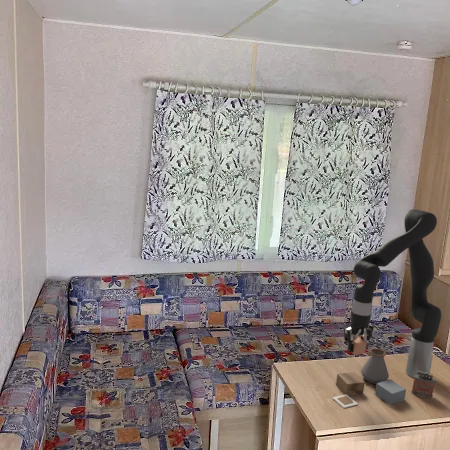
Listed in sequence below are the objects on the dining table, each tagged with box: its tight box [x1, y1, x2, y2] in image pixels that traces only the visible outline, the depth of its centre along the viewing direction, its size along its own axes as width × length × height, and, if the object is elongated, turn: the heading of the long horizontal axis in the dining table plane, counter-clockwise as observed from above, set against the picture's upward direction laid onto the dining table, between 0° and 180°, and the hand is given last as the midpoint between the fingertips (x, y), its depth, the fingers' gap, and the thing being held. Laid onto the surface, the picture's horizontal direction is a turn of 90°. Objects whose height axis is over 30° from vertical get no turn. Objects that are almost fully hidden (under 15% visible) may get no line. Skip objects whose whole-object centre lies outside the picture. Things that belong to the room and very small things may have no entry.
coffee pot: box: [360, 342, 390, 385], centre depth 213 cm, size 21×12×15 cm, turn 17°
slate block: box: [374, 379, 407, 405], centre depth 197 cm, size 8×8×5 cm
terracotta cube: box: [346, 336, 368, 356], centre depth 196 cm, size 5×5×5 cm
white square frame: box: [331, 394, 359, 409], centre depth 192 cm, size 7×7×1 cm
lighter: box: [411, 371, 436, 399], centre depth 200 cm, size 8×3×10 cm, turn 71°
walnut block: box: [335, 371, 365, 396], centre depth 201 cm, size 8×8×5 cm
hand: (355, 350), depth 197 cm, fingers closed on terracotta cube, 5 cm apart
